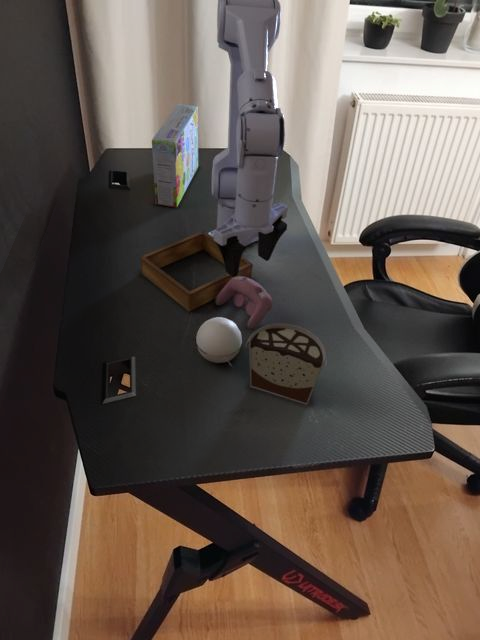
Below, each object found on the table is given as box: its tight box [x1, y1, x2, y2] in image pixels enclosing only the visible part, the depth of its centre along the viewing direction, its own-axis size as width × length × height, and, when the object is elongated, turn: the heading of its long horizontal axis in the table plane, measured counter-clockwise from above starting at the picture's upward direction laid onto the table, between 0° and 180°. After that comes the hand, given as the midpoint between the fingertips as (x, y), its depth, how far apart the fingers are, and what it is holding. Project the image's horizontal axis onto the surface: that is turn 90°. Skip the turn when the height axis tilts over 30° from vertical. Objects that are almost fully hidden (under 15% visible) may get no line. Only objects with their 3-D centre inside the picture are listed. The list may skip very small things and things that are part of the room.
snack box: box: [151, 103, 199, 208], centre depth 128 cm, size 21×6×15 cm, turn 172°
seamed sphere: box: [194, 316, 243, 367], centre depth 89 cm, size 10×7×7 cm
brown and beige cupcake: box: [244, 323, 328, 406], centre depth 86 cm, size 12×6×10 cm, turn 71°
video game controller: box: [215, 276, 274, 330], centre depth 100 cm, size 10×5×7 cm, turn 45°
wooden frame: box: [139, 230, 254, 312], centre depth 107 cm, size 15×14×4 cm
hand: (247, 265), depth 96 cm, fingers open, 7 cm apart
